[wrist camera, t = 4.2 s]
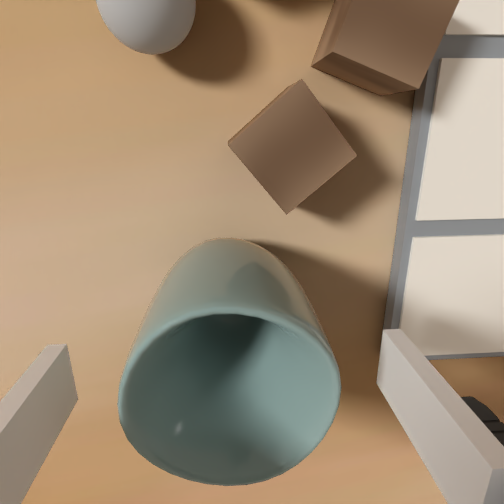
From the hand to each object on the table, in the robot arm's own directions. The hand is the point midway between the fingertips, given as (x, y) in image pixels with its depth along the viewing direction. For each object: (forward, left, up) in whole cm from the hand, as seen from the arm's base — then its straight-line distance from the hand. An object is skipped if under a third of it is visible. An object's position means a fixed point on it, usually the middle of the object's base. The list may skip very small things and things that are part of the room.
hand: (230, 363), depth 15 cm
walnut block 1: (-8, +3, -7) cm, 11 cm away
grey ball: (-14, -3, -7) cm, 16 cm away
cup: (0, 0, -7) cm, 7 cm away
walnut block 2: (-13, +7, -7) cm, 17 cm away
